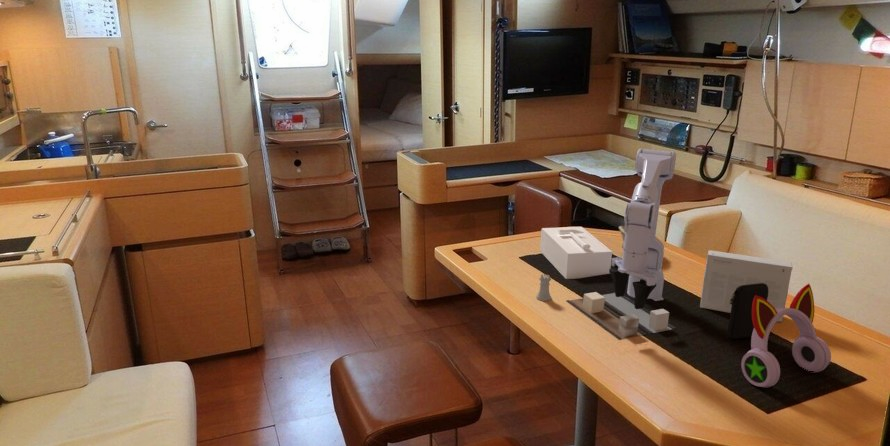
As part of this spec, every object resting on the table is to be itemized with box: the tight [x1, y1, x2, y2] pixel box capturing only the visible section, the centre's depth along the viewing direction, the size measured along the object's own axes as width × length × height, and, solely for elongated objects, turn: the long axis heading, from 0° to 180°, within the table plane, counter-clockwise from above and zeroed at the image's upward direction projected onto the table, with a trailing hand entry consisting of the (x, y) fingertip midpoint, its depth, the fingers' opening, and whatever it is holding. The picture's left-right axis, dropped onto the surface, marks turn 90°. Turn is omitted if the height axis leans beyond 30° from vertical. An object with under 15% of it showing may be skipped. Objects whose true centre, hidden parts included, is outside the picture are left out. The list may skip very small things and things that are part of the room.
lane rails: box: [565, 295, 677, 341], centre depth 171 cm, size 18×24×1 cm
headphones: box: [740, 283, 832, 388], centre depth 142 cm, size 20×10×20 cm, turn 115°
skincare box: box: [699, 249, 793, 323], centre depth 175 cm, size 21×5×16 cm, turn 65°
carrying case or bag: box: [726, 283, 769, 340], centre depth 160 cm, size 11×3×15 cm, turn 106°
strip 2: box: [601, 292, 672, 334], centre depth 172 cm, size 6×24×6 cm, turn 22°
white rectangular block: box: [539, 226, 613, 280], centre depth 208 cm, size 14×25×11 cm, turn 10°
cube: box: [582, 291, 605, 313], centre depth 173 cm, size 4×4×4 cm
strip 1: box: [569, 297, 642, 340], centre depth 169 cm, size 6×24×6 cm, turn 22°
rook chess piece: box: [535, 273, 552, 302], centre depth 179 cm, size 4×4×8 cm
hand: (629, 302), depth 158 cm, fingers open, 7 cm apart
